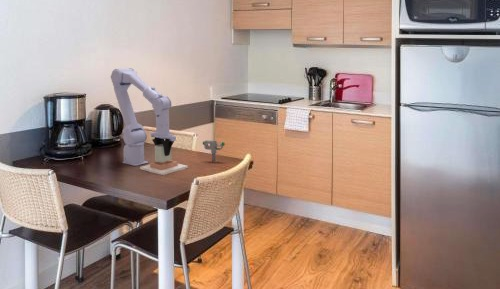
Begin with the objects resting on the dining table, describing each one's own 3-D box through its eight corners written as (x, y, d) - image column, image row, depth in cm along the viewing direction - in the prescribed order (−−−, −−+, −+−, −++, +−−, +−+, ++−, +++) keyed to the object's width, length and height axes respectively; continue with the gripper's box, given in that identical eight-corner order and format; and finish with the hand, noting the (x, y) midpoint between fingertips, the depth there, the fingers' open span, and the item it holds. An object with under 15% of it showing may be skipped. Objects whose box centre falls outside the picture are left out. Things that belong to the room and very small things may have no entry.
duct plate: (139, 169, 201) (139, 163, 201) (165, 162, 213) (165, 156, 212) (162, 175, 192) (162, 168, 192) (187, 168, 204) (187, 162, 203)
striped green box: (165, 158, 205) (164, 143, 203) (171, 159, 203) (170, 144, 201) (155, 161, 200) (154, 145, 199) (161, 162, 198) (160, 146, 196)
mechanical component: (223, 163, 212) (223, 142, 210) (202, 162, 214) (202, 141, 212) (225, 161, 215) (224, 141, 213) (204, 160, 217) (204, 140, 215)
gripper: (144, 124, 200) (146, 154, 203) (166, 127, 191) (167, 159, 194) (157, 122, 205) (158, 151, 208) (179, 125, 196) (180, 156, 199)
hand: (163, 154), depth 201 cm, fingers closed on striped green box, 4 cm apart
